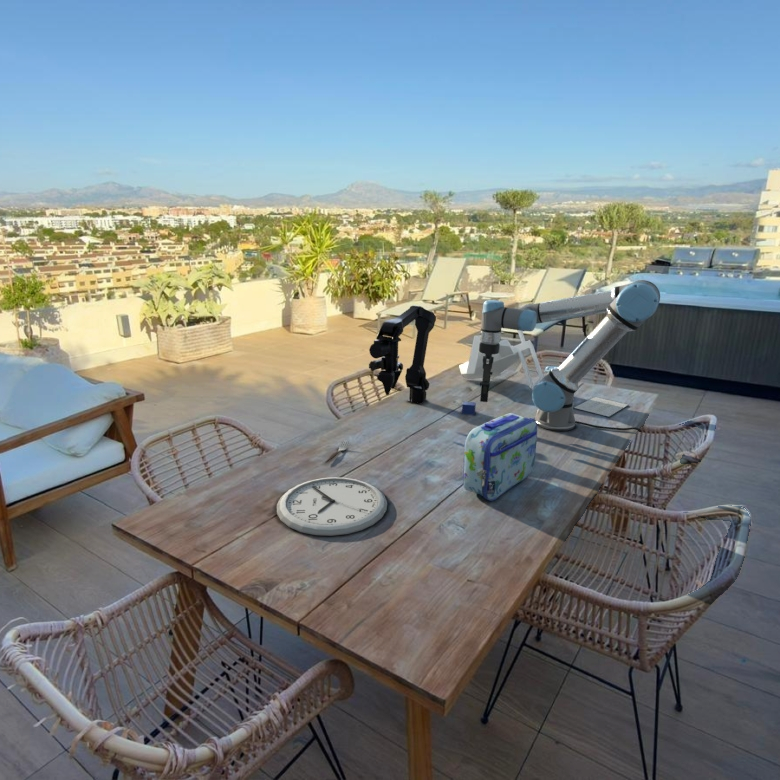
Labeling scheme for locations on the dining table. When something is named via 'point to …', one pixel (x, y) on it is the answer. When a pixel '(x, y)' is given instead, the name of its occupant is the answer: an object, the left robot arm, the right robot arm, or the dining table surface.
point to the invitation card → (601, 406)
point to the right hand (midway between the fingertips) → (484, 396)
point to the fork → (338, 451)
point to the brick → (468, 408)
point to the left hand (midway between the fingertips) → (390, 391)
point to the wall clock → (331, 506)
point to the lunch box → (499, 455)
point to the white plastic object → (501, 359)
